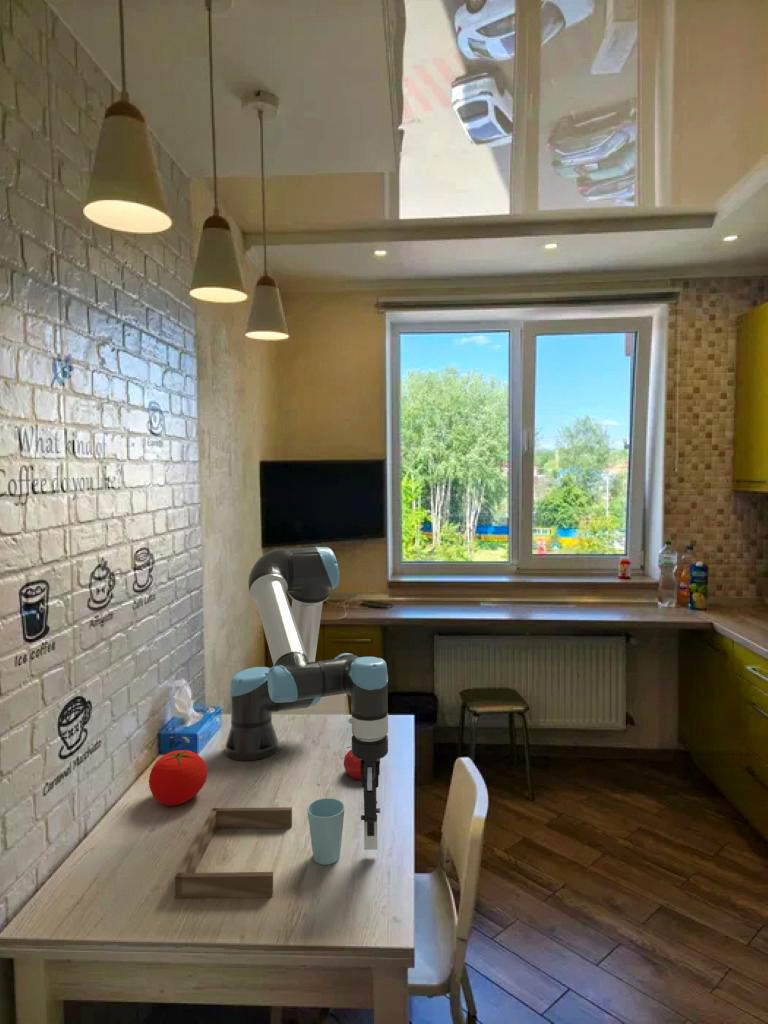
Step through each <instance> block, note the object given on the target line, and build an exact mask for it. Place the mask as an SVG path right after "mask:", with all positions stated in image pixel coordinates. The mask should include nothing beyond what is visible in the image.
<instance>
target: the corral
mask: <svg viewBox="0 0 768 1024" xmlns="http://www.w3.org/2000/svg"><path fill="white" fill-rule="evenodd" d="M292 827H293V807H291V806H290V807H289V806H286V807H282V806H281V807H280V806H279V807H221V808H220V807H218V808H217V807H212V809H211V811H210V812H209V813H208V816H207V818H206V820H205V821H204V824H203V825H202V827H201V829H200V831H199V832H198V834H197V836H196V838H195V839H194V841H193V843H192V846H191V847H190V848H189V851H188V852H187V855H186V856H185V858H184V860H183V861H182V864H181V866H180V867H179V868H178V871H177V873H176V874H175V876H174V886H175V887H174V891H175V893H174V894H175V899H212V898H213V899H215V898H216V899H217V898H218V899H220V898H221V899H222V898H223V899H225V898H226V899H227V898H228V899H231V898H233V899H235V898H237V899H238V898H273V896H274V871H248V872H247V871H238V872H237V871H234V872H228V871H227V872H196V871H197V869H198V867H199V866H200V863H201V861H202V859H203V857H204V855H205V853H206V851H207V848H208V847H209V845H210V843H211V841H212V839H213V838H214V835H215V833H216V831H217V829H272V828H273V829H285V828H286V829H287V828H291V829H292Z"/></svg>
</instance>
